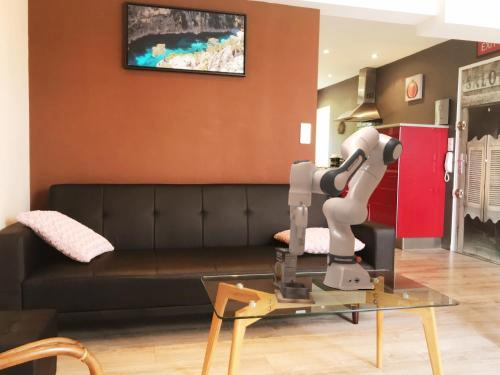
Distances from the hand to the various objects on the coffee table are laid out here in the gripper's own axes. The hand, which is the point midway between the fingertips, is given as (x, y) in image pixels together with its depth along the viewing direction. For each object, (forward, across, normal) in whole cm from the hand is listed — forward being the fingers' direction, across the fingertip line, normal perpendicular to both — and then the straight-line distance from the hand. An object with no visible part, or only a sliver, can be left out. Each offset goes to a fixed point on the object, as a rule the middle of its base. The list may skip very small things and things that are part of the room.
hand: (297, 236), depth 169 cm
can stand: (+24, 0, 0) cm, 24 cm away
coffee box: (+25, +16, +2) cm, 29 cm away
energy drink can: (+7, 0, 0) cm, 7 cm away
